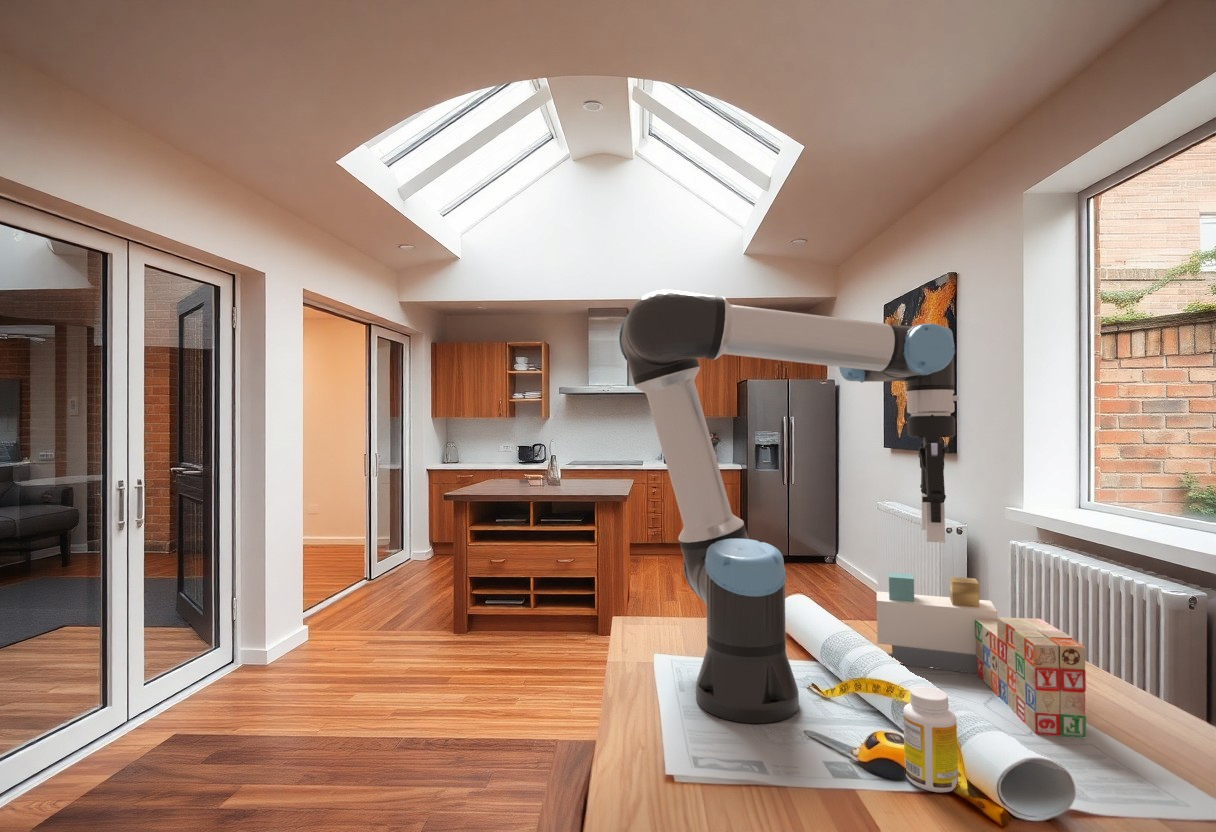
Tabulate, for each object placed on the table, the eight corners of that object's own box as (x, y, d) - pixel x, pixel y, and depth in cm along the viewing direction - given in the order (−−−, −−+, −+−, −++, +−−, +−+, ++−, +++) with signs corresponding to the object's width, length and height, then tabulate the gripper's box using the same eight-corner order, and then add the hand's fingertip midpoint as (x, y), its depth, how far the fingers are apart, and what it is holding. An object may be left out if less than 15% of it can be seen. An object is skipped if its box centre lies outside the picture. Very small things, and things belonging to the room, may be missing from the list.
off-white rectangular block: (877, 643, 114) (876, 600, 114) (877, 631, 120) (876, 591, 120) (998, 656, 106) (997, 611, 106) (991, 643, 113) (990, 600, 113)
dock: (892, 663, 112) (892, 646, 112) (891, 648, 119) (891, 632, 119) (985, 674, 107) (984, 656, 107) (978, 658, 114) (978, 641, 114)
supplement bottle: (961, 778, 75) (959, 690, 76) (954, 800, 71) (952, 707, 71) (909, 764, 79) (908, 679, 79) (899, 784, 74) (898, 695, 74)
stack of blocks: (975, 675, 107) (973, 600, 107) (1017, 677, 106) (1015, 601, 106) (1035, 735, 86) (1033, 642, 86) (1088, 739, 85) (1086, 645, 85)
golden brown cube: (952, 605, 110) (952, 581, 110) (950, 599, 114) (949, 576, 114) (979, 607, 109) (978, 583, 109) (976, 601, 113) (975, 578, 113)
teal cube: (889, 599, 114) (888, 577, 114) (889, 594, 118) (888, 572, 118) (914, 601, 113) (913, 578, 113) (913, 596, 116) (912, 574, 116)
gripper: (963, 413, 101) (965, 549, 100) (948, 416, 124) (949, 526, 123) (910, 414, 104) (912, 546, 103) (905, 416, 127) (906, 524, 126)
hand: (932, 535), depth 113 cm, fingers open, 13 cm apart
